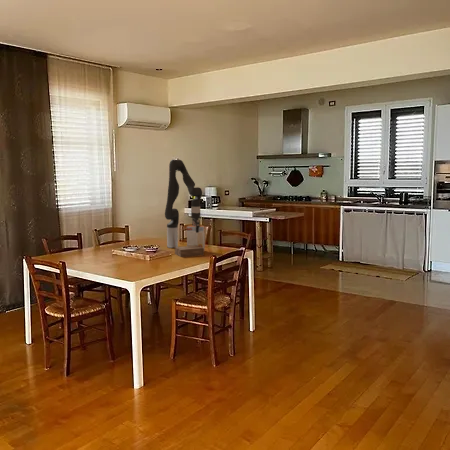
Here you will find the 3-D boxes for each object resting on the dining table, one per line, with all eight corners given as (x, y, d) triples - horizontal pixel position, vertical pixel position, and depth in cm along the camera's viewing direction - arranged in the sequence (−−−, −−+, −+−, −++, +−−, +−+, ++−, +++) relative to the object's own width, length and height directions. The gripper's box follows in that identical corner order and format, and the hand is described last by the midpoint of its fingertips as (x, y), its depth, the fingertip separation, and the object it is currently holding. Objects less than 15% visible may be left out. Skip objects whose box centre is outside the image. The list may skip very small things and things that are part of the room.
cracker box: (204, 250, 394) (204, 225, 391) (203, 252, 388) (203, 226, 385) (188, 250, 395) (188, 225, 393) (186, 251, 389) (186, 226, 387)
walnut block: (174, 254, 379) (174, 247, 378) (196, 252, 387) (196, 245, 386) (180, 257, 366) (180, 249, 366) (203, 255, 374) (203, 248, 374)
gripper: (189, 211, 393) (189, 230, 395) (193, 213, 380) (193, 233, 382) (198, 211, 396) (198, 230, 398) (202, 212, 382) (202, 232, 384)
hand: (195, 231), depth 390 cm, fingers open, 8 cm apart
